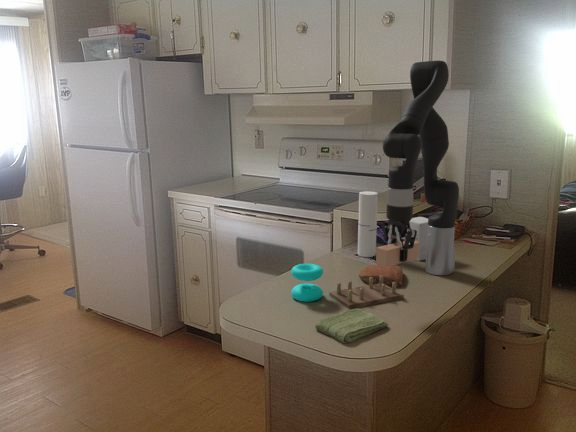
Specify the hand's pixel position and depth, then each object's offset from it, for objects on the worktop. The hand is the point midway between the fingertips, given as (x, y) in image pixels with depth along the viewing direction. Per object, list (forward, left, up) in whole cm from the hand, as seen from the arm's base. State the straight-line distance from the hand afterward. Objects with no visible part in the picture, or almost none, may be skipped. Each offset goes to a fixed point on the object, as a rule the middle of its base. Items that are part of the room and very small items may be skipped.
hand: (397, 258), depth 161 cm
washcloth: (+20, +8, -16) cm, 27 cm away
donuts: (+21, -18, -15) cm, 32 cm away
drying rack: (+4, -10, -15) cm, 19 cm away
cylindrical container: (-21, -49, -15) cm, 56 cm away
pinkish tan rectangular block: (0, 0, -1) cm, 1 cm away
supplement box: (-38, -38, -15) cm, 56 cm away
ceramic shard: (-10, -23, -16) cm, 30 cm away
